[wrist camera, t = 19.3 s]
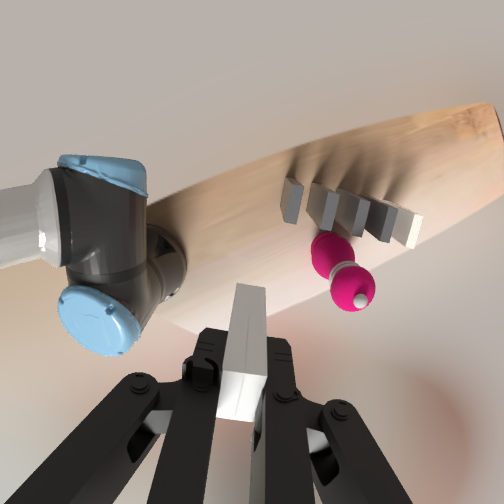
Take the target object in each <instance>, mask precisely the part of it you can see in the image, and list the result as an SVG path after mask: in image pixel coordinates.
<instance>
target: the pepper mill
mask: <svg viewBox="0 0 504 504" xmlns="http://www.w3.org/2000/svg"><path fill="white" fill-rule="evenodd" d="M311 255H312V264H313V266H314V268H315V270H316V271H317V273H318V274H319V275H320V276H322V277H324V278H325V279H328V280H329V283H330V286H331V289H330V292H331V296H332V299H333V301H334V302H335V304H336V305H337V306H338V307H339V308H341V309H343V310H345V311H349V312H355V311H359V310H362V309H364V308H365V307H366V306H368V305H369V303H370V302H371V301H372V299H373V297H374V294H375V282H374V279H373V277H372V275H371V274H370V273H369V272H368V271H367V270H366V269H364V268H362V267H360V266H359V265H358V264H357V263H355V255H354V250H353V248H352V246H351V245H350V243H349V242H348V241H347V240H345V239H344V238H342V237H339V236H338V235H337V234H335V233H330V232H327V233H323V234H321V235H319V236H318V237H316V238H315V240H314V241H313V243H312V245H311Z"/></svg>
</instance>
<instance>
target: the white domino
mask: <svg viewBox="0 0 504 504" xmlns="http://www.w3.org/2000/svg"><path fill="white" fill-rule="evenodd" d="M382 202H384V203H386V204H388V205H391V206H393V207H395V208H397V209H398V212H397V216H396V220H395V224H394V228H393V231H392V235H391V237H393V238H394V239H396V240H397V241H398V242H400V243H401V244H402V245H404V246H405V247H409V248H413V249H414V246H415V243H416V240H417V237H418V233H419V230H420V226H421V222H422V219H423V216H421V215H419V214H417V213H415V212H413V211H411V210H408V209H406V208H404V207H402V206H400V205H397V204H395V203H393V202H390V201H387V200H382Z"/></svg>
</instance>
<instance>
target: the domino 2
mask: <svg viewBox="0 0 504 504" xmlns="http://www.w3.org/2000/svg"><path fill="white" fill-rule="evenodd" d="M339 196H340V194H338V193H336V192H335V191H333V190H331V189H329V188H327V187H325V186H323V185H322V184H318V183H313V182H312V184H311V189H310V194H309V199H308V203H307V208H306V211H307V213H308V214H309V215H310V217H311V218H312V219H313V220H314V222H315V223H316V224H317V226H318V227H319V228H320V229H323V230H328V231H331V230H332V226H333V222H334V218H335V214H336V209H337V205H338V201H339Z"/></svg>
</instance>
